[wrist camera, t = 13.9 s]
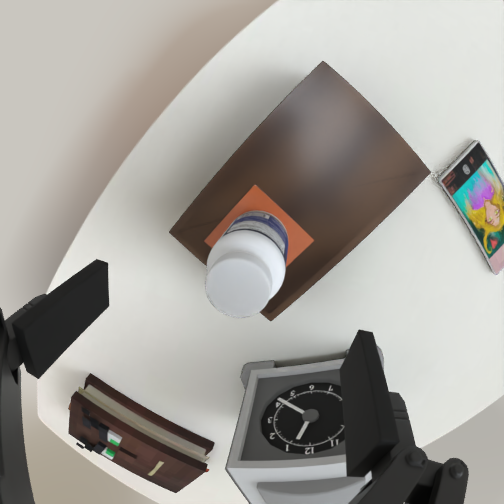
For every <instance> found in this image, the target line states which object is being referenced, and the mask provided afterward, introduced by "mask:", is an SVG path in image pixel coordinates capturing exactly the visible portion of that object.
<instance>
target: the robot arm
mask: <svg viewBox="0 0 504 504" xmlns="http://www.w3.org/2000/svg"><path fill="white" fill-rule="evenodd" d="M108 307H109V290H108V263H107V262H104V261H101V260H98V259H96V260H95V261H93V262H92V263H90V264H89V265H88V266H86V267H85V268H83V269H82V270H81V271H79V272H78V273H76V274H75V275H74V276H72V277H71V278H69V279H68V280H67V281H65V282H64V283H63V284H61V285H60V286H58V287H57V288H56V289H54V290H53V291H52V292H50V293H49V294H48V295H46V294H43V295H40V296H37V297H35V298H34V299H32V300H31V301H30V302H28V304H26V305H24V306H23V308H21V309H19V310H18V311H17V312H15V313H14V314H13V315H11V316H10V317H9V318H8V319H6V320H4V317H3V313H2V309H1V308H0V504H35V502H34V498H33V493H32V488H31V484H30V478H29V473H28V467H27V460H26V453H25V445H24V435H23V424H22V408H21V370H20V367H19V366H20V365H21V364H22V363H23V362H24V365H25V368H26V371H27V372H28V373H30V374H31V375H33V376H35V377H36V378H37V379H39V378H40V377H41V376H42V375H43V374H44V373H45V372H46V371H47V369H48V368H49V367H50V366H51V365H52V364H53V363H54V362H55V361H56V360H57V359H58V358H59V357H60V356H61V354H62V353H63V352H64V351H65V350H66V349H67V348H68V347H69V346H70V345H71V344H72V343H73V342H74V341H75V340H76V339H77V338H78V337H79V336H80V335H81V334H82V333H83V332H84V331H85V330H86V329H87V328H88V327H89V326H90V325H91V324H92V323H93V322H94V321H95V320H96V319H97V318H98V317H99V316H100V315H101V314H102V313H103V312H104V311H105V310H106V309H107V308H108ZM339 372H340V383H341V393H342V405H343V418H344V433H345V450H346V474H347V477H365V476H366V475H367V474H368V473H369V472H370V471H371V475H372V479H371V480H370V481H369V482H367V483H366V484H365V485H364V486H363V487H362V488H360V492H359V493H358V494H357V495H356V496H355V497H354V498H353V499H352V500H351V501H350V502H349V503H348V504H403V503H404V502H405V504H463V503H464V498H465V493H466V487H467V481H468V475H469V474H468V468H467V465H466V464H465V463H464V462H463V461H462V460H460V459H458V458H451V459H449V460H447V461H446V462H445V463H444V464H442V463H438V462H434V461H431V460H428V458H427V456H426V454H425V452H424V451H423V450H422V449H421V448H418V447H416V445H415V441H414V436H413V432H412V428H411V424H410V420H409V416H408V413H407V409H406V405H405V402H404V400H403V399H402V397H401V396H400V395H399V393H395V392H389V391H388V387H387V383H386V379H385V375H384V371H383V367H382V364H381V360H380V356H379V353H378V349H377V346H376V342H375V339H374V335H373V332H368V331H363V330H358V332H357V335H356V337H355V339H354V341H353V343H352V345H351V347H350V349H349V351H348V353H347V355H346V357H345V359H344V361H343V363H342V365H341V367H340V369H339Z"/></svg>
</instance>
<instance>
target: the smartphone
mask: <svg viewBox="0 0 504 504" xmlns="http://www.w3.org/2000/svg"><path fill="white" fill-rule="evenodd" d="M438 181H439V183H440V184H441V186H442V187H443V189H444V190H445V192H446V193H447V195H448V196H449V198H450V199H451V201H452V202H453V204H454V205H455V207H456V208H457V210H458V211H459V213H460V215H461V216H462V218H463V219H464V221H465V223H466V224H467V226H468V228H469V229H470V231H471V233H472V235H473V236H474V238H475V240H476V242H477V243H478V245H479V247H480V249H481V251H482V252H483V254H484V256H485V258H486V260H487V262H488V264H489V266H490V268H491V270H492V272H493V273H494V274H495V275H498V274H499V272H500V271H501V270H502V269H503V268H504V182H503V180H502V178H501V177H500V175H499V173H498V171H497V169H496V168H495V166H494V164H493V162H492V161H491V159H490V157H489V156H488V154H487V152H486V151H485V149H484V148H483V146H482V144H481V143H480V141H478V140H475V141H474V142H473V143H472V144H471V145H470V146H469V147H468V148H467V149H466V150H465V151H464V152H463V153H462V154H461V155H460V156H459V157H458V159H457V160H456V161H455V162H454V163H453V164H452V165H451V166H450V167H449V168H448V169H447V170H446V171H445V172H444V173H443V174H442V175H441V176H440V177H439V178H438Z"/></svg>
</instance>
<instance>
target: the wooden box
mask: <svg viewBox="0 0 504 504" xmlns="http://www.w3.org/2000/svg"><path fill="white" fill-rule="evenodd" d="M430 173H431V172H430V170H429V169H428V168H427V167H426V165H425V164H424V163H423V162H422V160H421V159H420V158H419V157H418V155H417V154H416V153H415V152H414V151H413V150H412V148H411V147H410V146H409V145H408V144H407V142H406V141H405V140H404V139H403V138H402V137H401V136H400V135H399V133H398V132H397V131H396V130H395V129H394V128H393V127H392V126H391V125H390V124H389V122H388V121H387V120H386V119H385V118H384V117H383V116H382V115H381V114H380V113H379V112H378V111H377V110H376V109H375V108H374V107H373V106H372V105H371V104H370V103H369V102H368V101H367V100H366V99H365V98H364V97H363V96H362V95H361V94H360V93H359V92H358V91H357V90H356V89H355V88H354V87H352V86H351V85H350V84H349V83H348V82H347V81H346V80H345V79H344V78H343V77H341V76H340V75H339V74H338V73H337V72H336V71H335V70H334V69H332V68H331V67H330V66H329V65H328V64H327V63H325V62H324V61H322V62H321V63H320V64H319V65H318V66H317V67H316V68H315V69H314V70H313V71H312V72H311V73H310V74H309V75H308V76H307V77H306V78H305V79H304V80H303V81H302V82H301V83H300V84H299V85H298V86H297V87H296V88H295V89H294V90H293V91H292V92H291V93H290V94H289V95H288V96H287V97H286V98H285V99H284V100H283V101H282V102H281V103H280V104H279V105H278V106H277V107H276V108H275V109H274V110H273V111H272V112H271V113H270V115H269V116H268V117H267V118H266V119H265V120H264V121H263V122H262V123H261V124H260V125H259V126H258V127H257V128H256V130H255V131H254V132H253V133H252V134H251V135H250V136H249V137H248V138H247V139H246V141H245V142H244V143H243V144H242V145H241V146H240V147H239V148H238V150H237V151H236V152H235V153H234V154H233V155H232V156H231V157H230V159H229V160H228V161H227V162H226V163H225V164H224V165H223V167H222V168H221V169H220V170H219V171H218V172H217V174H216V175H215V176H214V177H213V178H212V180H211V181H210V182H209V183H208V184H207V185H206V187H205V188H204V189H203V190H202V191H201V193H200V194H199V195H198V196H197V197H196V199H195V200H194V201H193V202H192V204H191V205H190V206H189V207H188V209H187V210H186V211H185V212H184V213H183V215H182V216H181V217H180V218H179V220H178V221H177V222H176V224H175V225H174V226H173V227H172V229H171V230H170V231H169V233H170V234H171V235H172V236H173V237H175V238H176V239H177V240H178V241H179V242H180V243H181V244H182V245H183V246H184V247H186V248H187V249H188V250H189V251H190V252H191V253H192V254H193V255H195V256H196V257H197V258H198V259H199V260H200V261H201V262H202V263H203V264H205V265H206V266H207V260H208V256H209V254H210V252H211V250H212V248H213V246H214V245H215V244H216V242H217V241H218V240H219V239H220V238H221V236H222V235H223V234H224V233H225V231H226V230H227V229H228V227H229V226H230V225H231V224H232V222H233V221H234V220H235V219H236V218H237V217H239V216H240V215H242V214H244V213H246V212H249V211H264V212H268V213H270V214H272V215H274V216H275V217H277V218H278V219H279V220H280V221H281V222H282V224H283V225H284V227H285V229H286V231H287V234H288V253H287V262H286V270H285V277H284V280H283V283H282V285H281V287H280V289H279V290H278V292H277V293H276V294H275V295H274V296H273V297H272V298H271V299H269V301H268V303H267V305H266V306H265V307H264V308H263V309H262V310H261V311H260V313H261V314H262V315H264V316H265V317H266V318H267V319H268V320H270V321H272V320H273V319H274V318H276V317H277V316H278V315H279V314H280V313H282V312H283V311H284V310H285V309H286V308H287V307H289V306H290V305H291V304H292V303H293V302H294V301H296V300H297V299H298V298H299V297H300V296H301V295H303V294H304V293H305V292H306V291H307V290H308V289H309V288H311V287H312V286H313V285H314V284H315V283H316V282H317V281H319V280H320V279H321V278H322V277H323V276H324V275H325V274H326V273H328V272H329V271H330V270H331V269H332V268H333V267H334V266H335V265H336V264H338V263H339V262H340V261H341V260H342V259H343V258H344V257H345V256H346V255H347V254H348V253H350V252H351V251H352V250H353V249H354V248H355V247H356V246H357V245H358V244H359V243H360V242H361V241H362V240H363V239H364V238H366V237H367V236H368V235H369V234H370V233H371V232H372V231H373V230H374V229H375V228H376V227H377V226H378V225H379V224H380V223H381V222H382V221H383V220H384V219H385V218H386V217H387V216H388V215H389V214H390V213H391V212H392V211H394V210H395V209H396V208H397V207H398V206H399V205H400V204H401V203H402V202H403V201H404V200H405V199H406V198H407V197H408V196H409V195H410V194H411V192H412V191H413V190H414V189H415V188H416V187H417V186H418V185H419V184H420V183H421V182H422V181H423V180H424V179H425V178H426V177H427V176H428V175H429V174H430Z"/></svg>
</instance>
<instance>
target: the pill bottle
mask: <svg viewBox="0 0 504 504" xmlns="http://www.w3.org/2000/svg"><path fill="white" fill-rule="evenodd" d="M287 253H288V234H287V231H286V229H285V227H284V225H283V224H282V222H281V221H280V220H279V219H278V218H277V217H275V216H274V215H272V214H270V213H268V212H264V211H249V212H246V213H244V214H242V215H240V216H239V217H237V218H236V219H235V220H234V221H233V222H232V224H231V225H230V226H229V227H228V229H227V230H226V231H225V233H224V234H223V235H222V236H221V238H220V239H219V240H218V241H217V242H216V244H215V245H214V246H213V248H212V250H211V252H210V254H209V256H208V260H207V277H206V281H205V289H206V294H207V297H208V299H209V300H210V302H211V303H212V305H213V306H214V307H215V308H216V309H218V310H219V311H220V312H222V313H224V314H226V315H228V316H231V317H237V318H245V317H250V316H253V315H255V314H257V313H259V312H260V311H261V310H262V309H263V308H264V307H265V306H266V305H267V303H268V301H269V299H271V298H272V297H273V296H274V295H275V294H276V293H277V292H278V290H279V289H280V287H281V285H282V283H283V280H284V277H285V270H286V262H287Z"/></svg>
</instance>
